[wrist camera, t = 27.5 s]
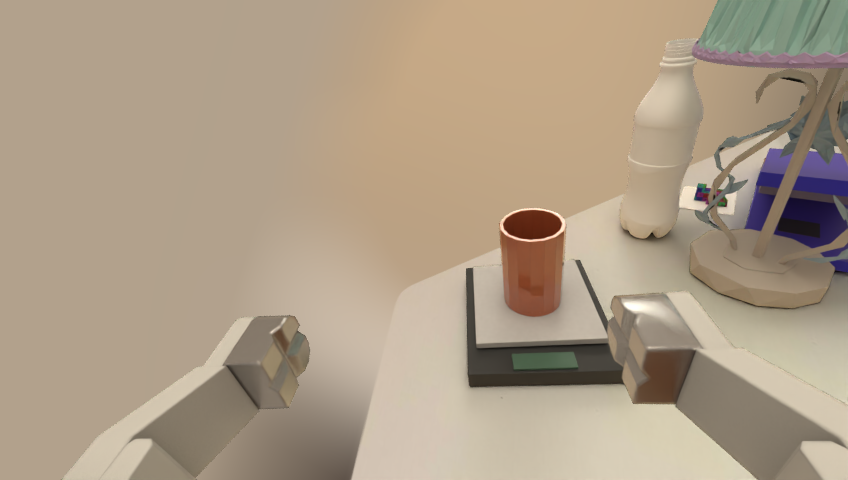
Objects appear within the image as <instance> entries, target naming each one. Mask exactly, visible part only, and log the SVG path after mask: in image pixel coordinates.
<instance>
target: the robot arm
mask: <svg viewBox="0 0 848 480" xmlns="http://www.w3.org/2000/svg"><path fill="white" fill-rule="evenodd" d="M611 310H612V312H613V314H614V317H613V318H612V319H611V320H609V321H608V329H607V335H608V343H609V347H610V351H611V353H612V356H613V358H614V361H616V362H617V363H618V364H620V365H621V366H622V367H623V372H622V380H623V382H624V384H625V387H626V389H627V391H628V393H629V396H630V398H631V400H632V403H633V404H676V405H675V407H677V408H678V409H679V410H680V411H681V412H682V413H683V414H684V415H686V416H687V417H688V418H689V419H690V420H691V421H692V422H693V423H695V424H696V425H697V426H698V427H699V428H700V429H701V430H702V431H704V432H705V433H706V434H707V435H708V436H709V437H710V438H712V439H713V440H714V441H715V442H716V443H717V444H718V445H719V446H721V447H722V448H723V449H724V450H725V451H726V452H727V453H728V454H730V455H731V456H732V457H733V458H734V459H735V460H736V461H737V462H739V463H740V464H741V465H742V466H743V467H744V468H745V469H747V470H748V471H749V472H750V473H751V474H752V475H753V476H754V477H756V478H757V479H758V480H848V405H847V404H845V403H843V402H841V401H840V400H838V399H836V398H834V397H832V396H830V395H829V394H827V393H825V392H823V391H821V390H819V389H818V388H816V387H814V386H812V385H810V384H808V383H807V382H805V381H803V380H801V379H799V378H797V377H796V376H794V375H792V374H790V373H788V372H786V371H785V370H783V369H781V368H779V367H777V366H775V365H773V364H772V363H770V362H768V361H766V360H764V359H762V358H761V357H759V356H757V355H755V354H753V353H751V352H750V351H748V350H746V349H744V348H734V347H733V345H732V344H731V343H730V342H729V340H728V339H727V338H726V337H725V335H724V334H723V333H722V332H721V330H720V329H719V328H718V327H717V325H716V324H715V323H714V322H713V320H712V319H711V318H710V317H709V315H708V314H707V313H706V311H705V310H704V309H703V308H702V306H701V305H700V304H699V303H698V301H697V300H696V299H695V298H694V296H693V295H692V294H691V293H689V292H687V291H677V292H662V293H649V294H635V295H620V296H614V297H613V299H612V302H611ZM299 326H300V325H299V323H298V321H297V319H296V317H295V316H290V315H289V316H259V317H241V318H240V319H238V320H236V321H235V322H234V324H233V325H232V327H231V328H230V329H229V331H228V332H227V334H226V335H225V336H224V338H223V339H222V341H221V342H220V343H219V345H218V346H217V347H216V349H215V350H214V352H213V353H212V355H211V356H210V357H209V359H208V360H207V362H206V363H205V364H204V366H203V367H197V368H195V369H194V370H192V371H191V372H189V373H188V374H187V375H185V376H184V377H182V378H181V379H179V380H178V381H177V382H175V383H174V384H172V385H171V386H169V387H168V388H167V389H165V390H164V391H162V392H161V393H159V394H158V395H156V396H155V397H154V398H152V399H151V400H149V401H148V402H146V403H145V404H144V405H142V406H141V407H139V408H138V409H136V410H135V411H134V412H132V413H131V414H129V415H128V416H126V417H125V418H123V419H122V420H121V421H119V422H118V423H116V424H115V425H113V426H112V427H111V428H109V429H108V430H106V431H105V432H103V433H102V434H101V435H100V436H98V437H97V438H96V439H95V440H94V442H93V443H92V444H91V445H90V446H89V447H88V449H87V450H86V451H85V452H84V453H83V455H82V456H81V457H80V458H79V459H78V461H77V462H76V463H75V464H74V465H73V466H72V468H71V469H70V470H69V471H68V473H67V474H66V475H65V476H64V477H63V478H62V480H197V479H195V478H196V477H197V476H198V475H199V474H200V473H201V472H202V470H204V469H205V467H206V466H207V465H208V464H209V463H210V462H211V461H212V460H213V459H214V458H215V457H216V456H217V455H218V454H219V453H220V452H221V451H222V450H223V449H224V448H225V447H226V445H227V444H228V443H229V442H230V441H231V440H232V439H233V438H234V437H235V436H236V435H237V434H238V433H239V432H240V431H241V430H242V429H243V428H244V427H245V426H246V425H247V424H248V423H249V421H250V420H251V419H252V418H253V417H254V416H255V415H256V414H257V413H258V412H259V409H277V408H289V406H290V404H291V402H292V399H293V397H294V395H295V393H296V390H297V388H298V386H299V384H298V381H297V377H298V376H299V375H300V374H302V373H303V372H304V371H305V369H306V367H307V364H308V362H309V355H310V347H309V343H308V340H307V338H306V336H305V335H303V334H301V333H300V332H299V331H298V328H299Z"/></svg>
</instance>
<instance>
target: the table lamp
mask: <svg viewBox="0 0 848 480" xmlns="http://www.w3.org/2000/svg"><path fill="white" fill-rule="evenodd" d="M692 55H693V57H695V58H697V59H700V60H703V61H707V62H712V63H718V64H725V65H736V66H747V67H766V68H828V70H827V73H826V75H825V77H824V80H823V82H822V85H821V87H820V90H819V92H818V95H817V83H818V81H817V80H816V78H815V77H814V76H813V75H812V74H811V73H807V72H803V71H799V70H794V69H787V70H784V71H780V72H777V73H773V74H769V75H768V76H767V78H766V79H765V80H764V82H763V83H762V84H761V86H760V87H759V89H758V90H757V91H756V103H758V101H759V99H760V97H761V95H762V92H763V90H764V88H766V87H767V86H769V85H770V84H772V83H773V82H775V81H776V80H777V79H779V78H782V79H786V80H791V81H796V82H801V83H804V85H805V86H806V87H807V89H808V90H809V92H808V94H807V95H806V97H804V96H802V97H801V101H800V107H799V108H798V110H797V111H796V112H794V113H793V114H792V115H791V116H792V117H793V118H792V117H791V118H792V120H790V119H791V118H788V119H786V120H784V121H780V122H777V123H774V124H771V125H768V126H767V128H765V129H762V130H760V131H757V132H755V133H753V134H751V135H747V136H744V137H741V138H737V137H734V136H732V137H729V138H727V139H726V140H725V141H724V142H723V144H722V145H720V146H719V148H718V149H717V151H716V153H715V154H714V157H715V161H716V165H717V168H718V169H720V170H721V171H722V172H721V173H720V174H719V175H718V176H717V178H716V179H715V180H714V182H713V185H712V188H711V191H710V193H709V196H708V200H709V205H708V206H707V207H706V208H705V210H704V211H703V213H702V212H700V211H698V210H695V215H696V216H697V218H698V219H699V220H701V221H703V222H705V223H708V224H710V225H711V226H713V227H714V228H716V229H719V230H710V231H708V232H707V233H705V234H704V235H702V236H701V237H699V238H698V239H696V240H695V241H693V242H692V243H691V248H690V273H692V274H693V275H694V276H696V277H697V278H698V279H700V280H701V281H703V282H704V283H705V284H707V285H708V286H710V287H711V288H712V289H714V290H715V291H717V292H718V293H721V294H724V295H727V296H730V297H733V298H736V299H739V300H742V301H745V302H748V303H751V304H754V305H756V306H768V307H782V308H796V307H801V306H805V305H810V304H815V303H819V302H820V301H821V299H822V297H823V296H824V294H825V292H826V291H827V289H828V288H829V285H830V282H831V279H832V277H833V274H834V271H835V267H834V266H833V265H832V264H831V263H830V262H831V261H835V260H840V259H848V249H846V250H844V251H842V252H841V253H840V254H839V256H838V257H824V256H822V255H821V254H820V253H821V252H825V251H829V250H833V249H837V248H841V247H844V246H845V245H846V244H847V243H848V229H847V230H845V231H844V232H843V233H842V234H841V235H840V236H839V237H837V238H836V239H835V240H834V241H833V242H832V243H831V244H828V245H824V246H820V247H816V248H810V247H808V246H806V245H804V244H802V243H800V242H798V241H796V240H794V239H791V238H787V237H783V236H778V235H774V234H773V233H774V231H775V229H776V226H777V224H778V222H779V219H780V217H781V215H782V212H783V210H784V208H785V205H786V203H787V201H788V198H789V196H790V194H791V191H792V189H793V187H794V184H795V182H796V180H797V177H798V175H799V173H800V170H801V168H802V166H803V163H804V161H805V159H806V156H807V154H808V152H809V149H810V148H813V149H816V150H817V152H818V154H819V155H820V156H821V158H822V159H823V160H824V161H825V162H826V163H827V165H829V164H830V162H831V160H832V158H833V156H834V154H835V151H834V146H838V147H839V149H840V151H841V153H842V155H843V157H844V159H845V161H846V163H847V165H848V143H847V141H846V140H847V139H848V101H846V102H844V101H843V98H844V93H845V92H846V91H847V90H848V80H847V81H846V82H845V83H844V84H843V85H842V87H841V88H840V89H839V91H838V92H837V93H836V94H835V96H834V97H833V98H832V95H833V93H834V91H835V88H836V86H837V83H838V81H839V79H840V77H841V74H842V72H843V70H844V68H848V0H718V2H717V4H716V6H715V8H714V10H713V12H712V15H711V17H710V19H709V21H708V23H707V25H706V28H705V30H704V32H703V34H702V36H701V38H699V39H698V40H697V41H696V42H695V44H694V46H693V48H692ZM816 95H817V97H816ZM831 98H832V99H831ZM773 130H777V131H775V132H774V133H772V134H771V135H769V136H768V137H766V138H765V139H763V140H762V141H760V142H759V143H757V144H756V145H754V146H753V147H751V148H750V149H748V150H747V151H745V152H744V153H742V154H741V155H739V156H738V157H736V158H735V159H734V160H733V161H732V162H731V163H730V164H729V165H728V166H727V167H726V168H725V169H723V168H722V167H721V162H720V156H719V152H720V151H721V150H722V149H724V148H725V147H734V146H736V145H737V144H739V143H740V142H741V141H742V140H743V139H747V138H750V137H753V136H756V135H760V134H763V133H766V132H769V131H773ZM786 132H788V135H789V137H790V139H791V141H790V142H789V143H788V144H787V145H785V147H784V149H783V151H782V153H781V155H780V157H779V158H781V157H784V156H787V155H789V154H792V153H793V155H792V158H791V160H790V163H789V165H788V168H787V170H786V172H785V175H784V177H783V180H782V182H781V185H780V187H779V189H778V192H777V194H776V197H775V199H774V202H773V204H772V206H771V209H770V211H769V214H768V216H767V219H766V221H765V223H764V226H763V228H762V231H757V230H752V229H732V230H729V229H728V228H727V226H726V225H725V224H724V223H723V221H722V220H721V219H720V217H719V216H718V215H717V203H718V202H719V201H720V200H721V199H722V198H723V197H724V196H725V195H726V194H731V193H734V192H736V191H738V190H739V189H740V188H741V187H743V186H744V184H745V183H746V182H747V181H748V180H745V181H742V182H737V183H734V184H733V182H734V180H735V178H734V177H733V176H731V175H730V174H729V173H730V171H731V170H732V168H733V167H734V166H735V165H737V164H738V163H740V162H741V161H743V160H744V159H746V158H747V157H749V156H750V155H752V154H754V153H755V152H757V151H758V150H760V149H761V148H763V147H764V146H766V145H767V144H769V143H770V142H772V141H773V140H775V139H776V138H778V137H779V136H781V135H782V134H784V133H786ZM727 176H728V177H729V184H728V185H727V187H726V188H725V189H724V190H723V191H722V192H721V193H720V194H719V195H718V196H717V190H718V188H719V187H720V185H721V184H722V183H723V181H724V180H725V178H726V177H727ZM833 197H834V202H835V204H836V206H837V208H838V210H839V212H840V214H841V216H842V218H843V220H845V219H846V221H847V225H848V209H846V207H845V206H844V205H843V204H842V203H841V202H840V200H839V199H838V198H837V197H836V196H835V195H833ZM709 210H710V213H711V217H712V219H713V220H714V221H715V223H716V224H717V225H718V226H717V225H715V224H714V223H712V222H711V221H710V220H709V217H708V215H707V214H708V211H709Z"/></svg>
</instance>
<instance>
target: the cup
mask: <svg viewBox="0 0 848 480" xmlns="http://www.w3.org/2000/svg"><path fill="white" fill-rule="evenodd" d="M499 229H500V245H501V262H502V279H503V293H504V300H505V303H506V304H507V306H508V307H509V308H510V309H511V310H513V311H514V312H516V313H518V314H521V315H524V316H530V317H539V316H545V315H548V314H550V313H552V312H554V311H555V310H556V309H557V308H558V307H559V305H560V304H561V299H562V290H563V274H564V257H565V240H566V222H565V220H564V218H563V217H562V216H560V215H559V214H557V213H556V212H553V211H550V210H547V209H539V208H528V209H520V210H517V211H514V212H511V213H509V214H508V215H506V216H505V217H503V218H502V220H501V222H500V223H499Z"/></svg>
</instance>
